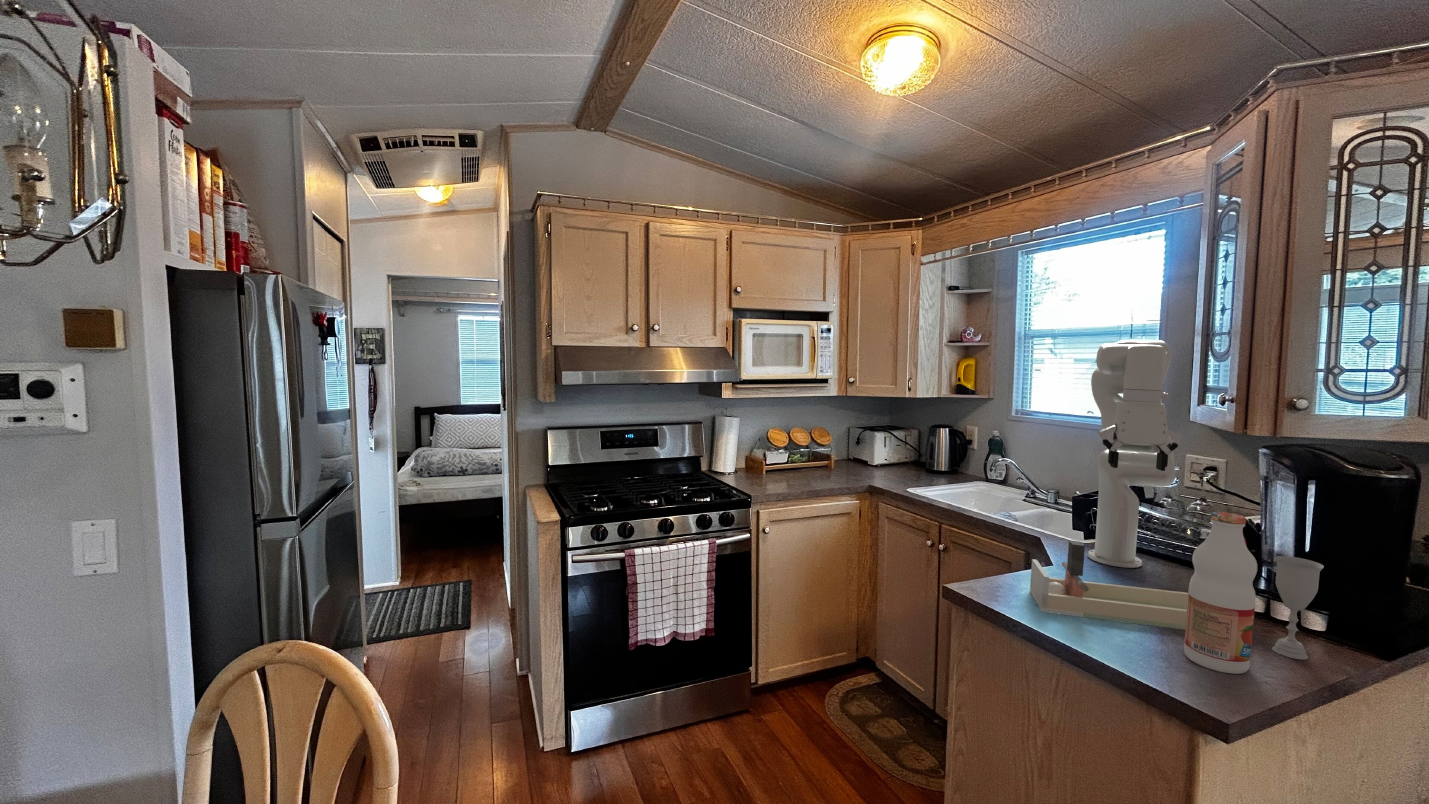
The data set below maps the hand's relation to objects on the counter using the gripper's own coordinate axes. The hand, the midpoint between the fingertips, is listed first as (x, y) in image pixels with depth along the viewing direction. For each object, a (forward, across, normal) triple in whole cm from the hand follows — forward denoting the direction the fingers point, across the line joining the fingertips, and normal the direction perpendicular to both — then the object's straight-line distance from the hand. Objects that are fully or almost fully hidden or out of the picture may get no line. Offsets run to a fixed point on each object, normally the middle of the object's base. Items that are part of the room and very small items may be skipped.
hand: (1136, 468), depth 142 cm
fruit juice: (+31, -3, +34) cm, 46 cm away
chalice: (+31, -19, +25) cm, 44 cm away
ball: (+27, +19, +14) cm, 36 cm away
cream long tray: (+30, +7, +14) cm, 34 cm away
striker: (+29, +16, +14) cm, 36 cm away
